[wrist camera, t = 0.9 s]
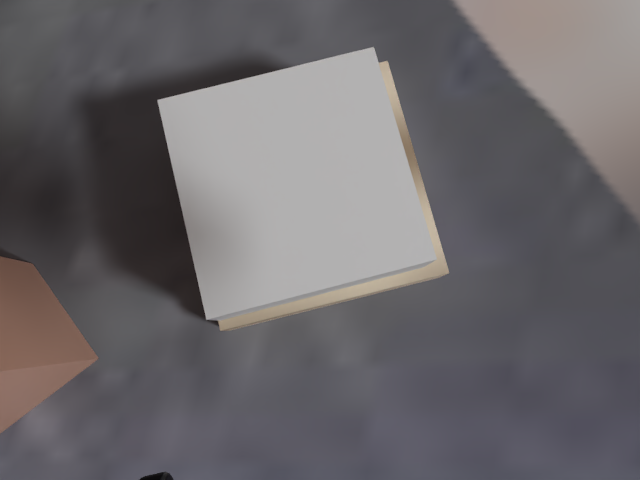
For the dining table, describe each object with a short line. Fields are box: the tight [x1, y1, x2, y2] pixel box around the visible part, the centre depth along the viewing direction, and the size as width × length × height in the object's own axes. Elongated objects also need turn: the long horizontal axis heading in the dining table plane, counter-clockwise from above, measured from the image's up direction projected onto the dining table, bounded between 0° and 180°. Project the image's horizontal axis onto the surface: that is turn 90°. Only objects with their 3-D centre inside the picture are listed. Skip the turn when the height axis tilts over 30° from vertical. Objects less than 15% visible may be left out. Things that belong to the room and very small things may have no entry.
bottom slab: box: [218, 61, 449, 331], centre depth 22 cm, size 9×9×2 cm
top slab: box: [157, 47, 437, 321], centre depth 20 cm, size 8×8×2 cm
